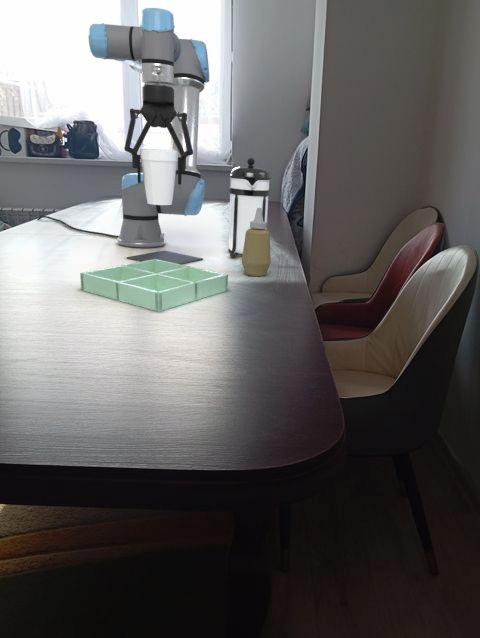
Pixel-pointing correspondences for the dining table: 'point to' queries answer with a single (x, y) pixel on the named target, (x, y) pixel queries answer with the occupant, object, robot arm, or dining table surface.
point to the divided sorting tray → (154, 283)
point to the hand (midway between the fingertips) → (159, 183)
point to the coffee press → (246, 202)
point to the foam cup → (159, 175)
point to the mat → (166, 257)
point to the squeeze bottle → (257, 247)
